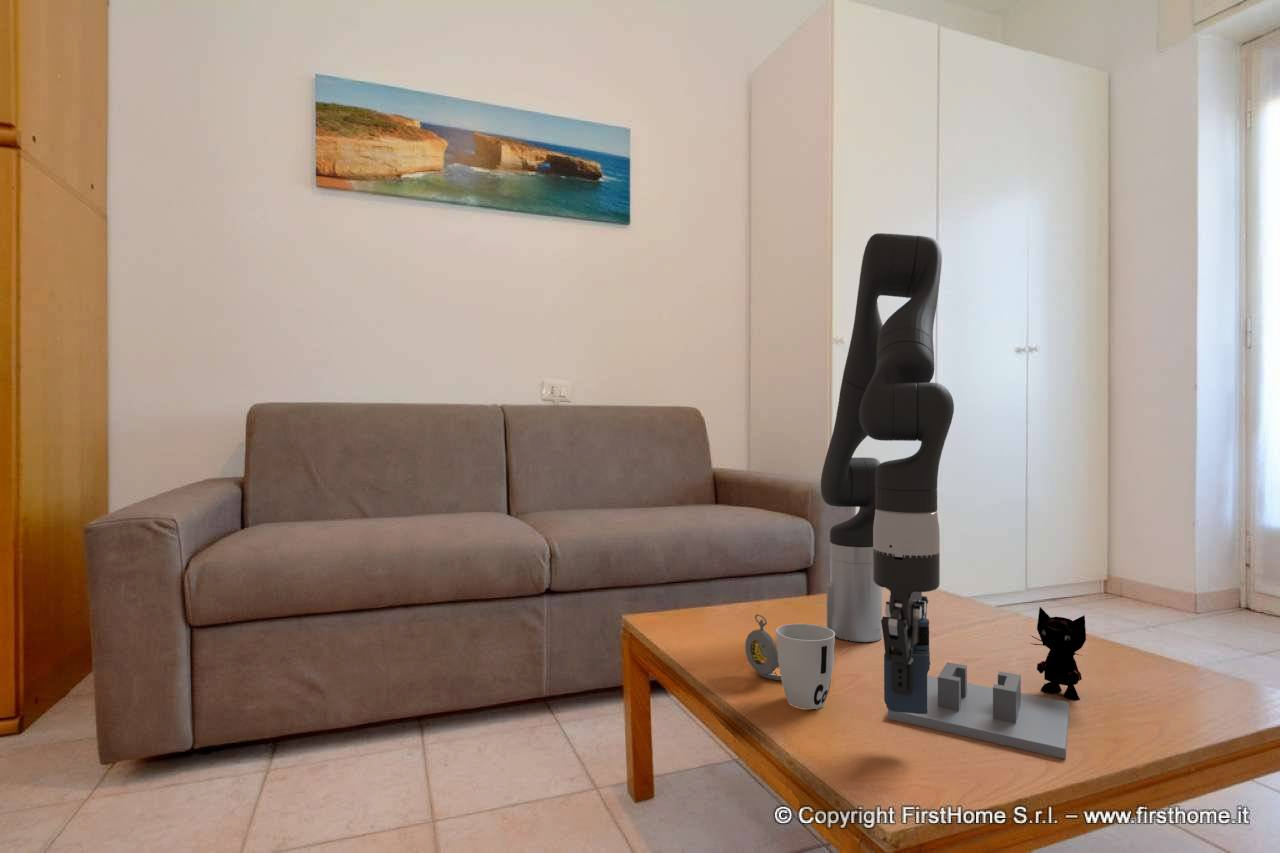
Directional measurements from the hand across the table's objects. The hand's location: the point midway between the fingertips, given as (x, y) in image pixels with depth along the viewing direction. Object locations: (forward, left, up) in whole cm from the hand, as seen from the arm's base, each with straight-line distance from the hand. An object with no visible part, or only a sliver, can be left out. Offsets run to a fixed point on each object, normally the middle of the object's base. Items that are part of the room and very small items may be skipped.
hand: (906, 687), depth 82 cm
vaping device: (0, 0, -3) cm, 3 cm away
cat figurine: (+15, +30, -7) cm, 34 cm away
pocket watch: (-23, +13, -7) cm, 27 cm away
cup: (-15, +6, -7) cm, 18 cm away
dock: (+6, +15, -7) cm, 18 cm away
